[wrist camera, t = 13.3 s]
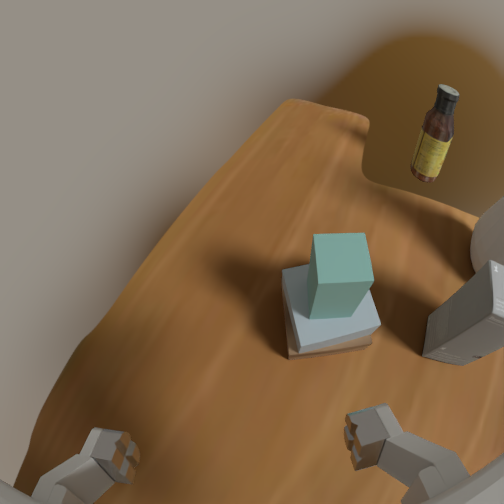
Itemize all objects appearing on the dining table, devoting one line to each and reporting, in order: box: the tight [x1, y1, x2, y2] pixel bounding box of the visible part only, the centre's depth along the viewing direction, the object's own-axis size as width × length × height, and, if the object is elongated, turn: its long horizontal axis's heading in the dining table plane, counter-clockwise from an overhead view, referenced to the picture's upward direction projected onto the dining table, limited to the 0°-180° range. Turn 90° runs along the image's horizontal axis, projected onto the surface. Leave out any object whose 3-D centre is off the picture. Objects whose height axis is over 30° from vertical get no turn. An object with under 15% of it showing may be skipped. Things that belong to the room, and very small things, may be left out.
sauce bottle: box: [411, 84, 459, 182], centre depth 40 cm, size 7×6×20 cm
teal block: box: [307, 233, 374, 319], centre depth 26 cm, size 4×4×9 cm
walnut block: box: [281, 277, 372, 360], centre depth 35 cm, size 10×10×4 cm
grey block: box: [282, 264, 381, 353], centre depth 31 cm, size 9×9×4 cm
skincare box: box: [422, 260, 504, 366], centre depth 25 cm, size 8×7×16 cm
